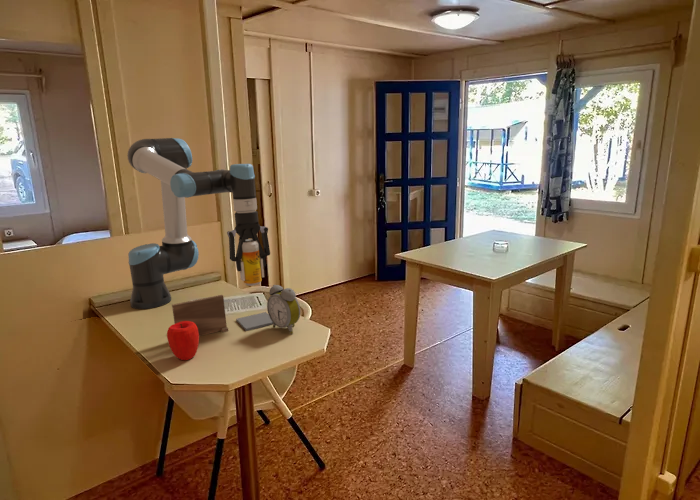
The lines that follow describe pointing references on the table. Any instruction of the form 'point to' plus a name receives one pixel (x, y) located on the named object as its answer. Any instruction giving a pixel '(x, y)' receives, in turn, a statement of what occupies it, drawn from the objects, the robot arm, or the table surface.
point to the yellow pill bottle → (251, 262)
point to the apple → (183, 339)
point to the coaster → (255, 321)
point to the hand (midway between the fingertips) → (252, 278)
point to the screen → (203, 314)
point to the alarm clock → (283, 307)
